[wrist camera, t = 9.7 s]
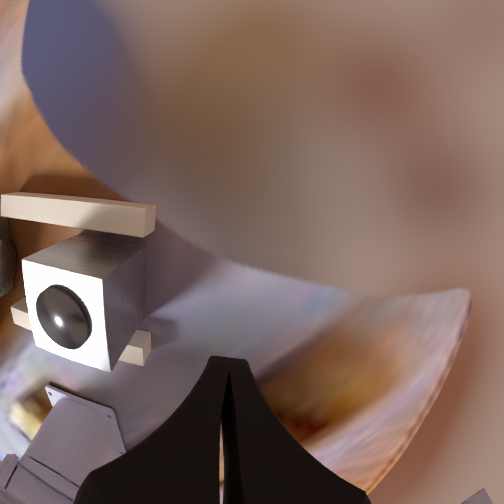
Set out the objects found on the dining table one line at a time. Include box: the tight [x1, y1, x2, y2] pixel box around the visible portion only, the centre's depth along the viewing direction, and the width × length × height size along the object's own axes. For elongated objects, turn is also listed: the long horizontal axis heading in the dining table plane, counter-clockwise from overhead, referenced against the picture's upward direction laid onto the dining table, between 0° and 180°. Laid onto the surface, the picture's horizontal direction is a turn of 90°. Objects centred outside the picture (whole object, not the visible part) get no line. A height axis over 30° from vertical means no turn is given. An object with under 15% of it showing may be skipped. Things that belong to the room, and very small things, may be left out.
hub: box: [22, 234, 147, 372], centre depth 13 cm, size 5×5×6 cm
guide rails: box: [1, 192, 157, 366], centre depth 15 cm, size 10×12×2 cm
